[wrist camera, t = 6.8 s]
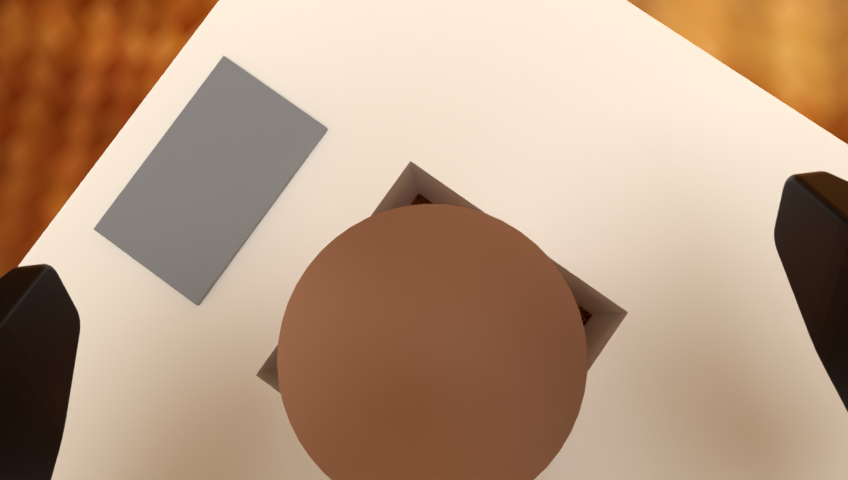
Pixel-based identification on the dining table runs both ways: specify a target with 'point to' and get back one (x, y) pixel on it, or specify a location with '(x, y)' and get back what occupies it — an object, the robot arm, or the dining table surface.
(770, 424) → the white flat square block
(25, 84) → the dining table surface
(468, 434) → the terracotta peg
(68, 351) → the robot arm
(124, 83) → the dining table surface
